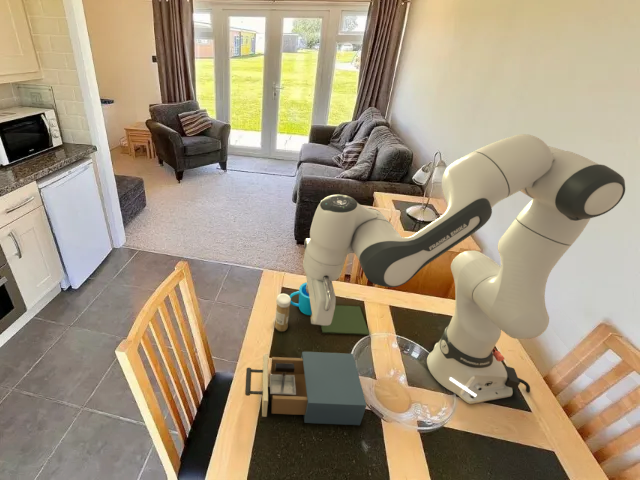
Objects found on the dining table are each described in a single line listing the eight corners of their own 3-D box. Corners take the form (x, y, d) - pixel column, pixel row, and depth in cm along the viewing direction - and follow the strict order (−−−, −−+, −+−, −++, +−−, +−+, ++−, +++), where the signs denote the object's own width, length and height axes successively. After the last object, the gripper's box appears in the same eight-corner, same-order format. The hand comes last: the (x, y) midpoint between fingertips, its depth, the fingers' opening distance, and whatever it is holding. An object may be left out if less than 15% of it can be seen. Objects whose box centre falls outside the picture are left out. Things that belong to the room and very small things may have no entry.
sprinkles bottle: (290, 328, 109) (293, 299, 103) (279, 334, 106) (282, 305, 100) (282, 319, 112) (285, 291, 106) (271, 324, 110) (274, 296, 104)
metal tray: (293, 381, 90) (297, 356, 85) (295, 400, 86) (299, 376, 81) (269, 380, 90) (271, 355, 85) (269, 399, 86) (271, 375, 81)
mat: (359, 307, 118) (359, 306, 118) (369, 335, 107) (369, 333, 107) (317, 305, 118) (317, 304, 118) (322, 333, 107) (322, 331, 107)
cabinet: (304, 423, 83) (308, 402, 78) (299, 371, 95) (302, 351, 91) (360, 425, 83) (366, 405, 78) (347, 373, 95) (352, 353, 91)
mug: (318, 297, 121) (319, 281, 117) (322, 315, 113) (324, 298, 110) (287, 298, 121) (287, 282, 117) (289, 315, 114) (289, 299, 110)
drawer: (244, 415, 83) (244, 399, 79) (246, 369, 94) (247, 353, 91) (313, 418, 83) (316, 402, 79) (307, 371, 94) (310, 355, 91)
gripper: (347, 299, 62) (332, 345, 68) (329, 237, 80) (318, 278, 86) (315, 295, 61) (303, 342, 68) (304, 234, 79) (295, 275, 86)
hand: (311, 305), depth 77 cm, fingers open, 8 cm apart
